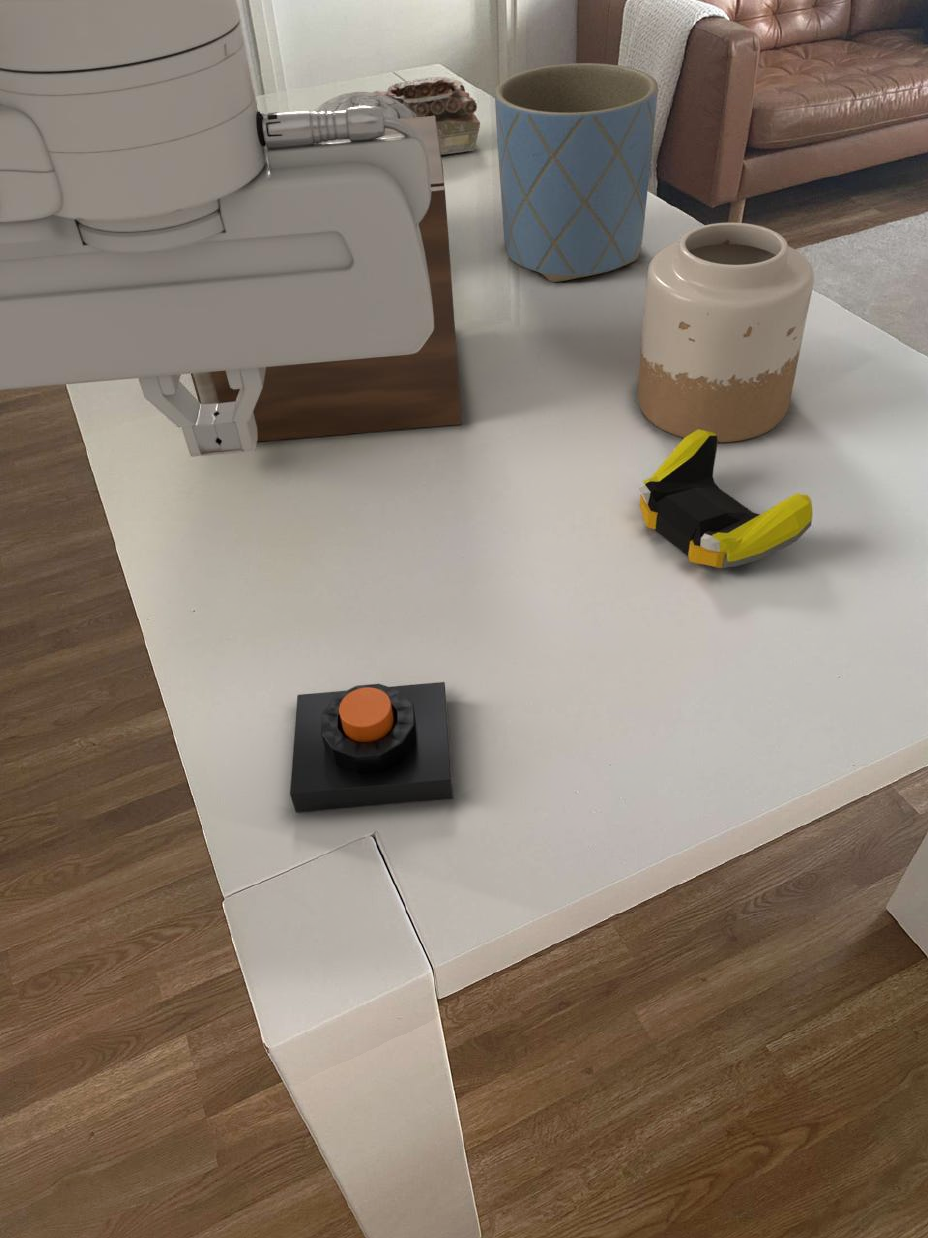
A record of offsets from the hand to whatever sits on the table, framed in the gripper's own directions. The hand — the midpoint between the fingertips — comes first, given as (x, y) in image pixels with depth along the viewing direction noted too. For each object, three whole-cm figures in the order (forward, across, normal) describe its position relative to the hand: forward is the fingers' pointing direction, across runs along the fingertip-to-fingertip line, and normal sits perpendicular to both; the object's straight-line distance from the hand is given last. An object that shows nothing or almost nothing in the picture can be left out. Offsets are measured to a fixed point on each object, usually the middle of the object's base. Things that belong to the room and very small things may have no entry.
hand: (225, 446), depth 45 cm
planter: (+31, -29, -86) cm, 96 cm away
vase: (+31, -38, -48) cm, 69 cm away
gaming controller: (+31, -33, -28) cm, 53 cm away
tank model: (+31, -10, -126) cm, 130 cm away
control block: (+31, -3, -6) cm, 32 cm away
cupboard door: (+31, +1, -45) cm, 55 cm away
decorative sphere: (+31, -3, -90) cm, 95 cm away
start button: (+28, -3, -6) cm, 28 cm away
